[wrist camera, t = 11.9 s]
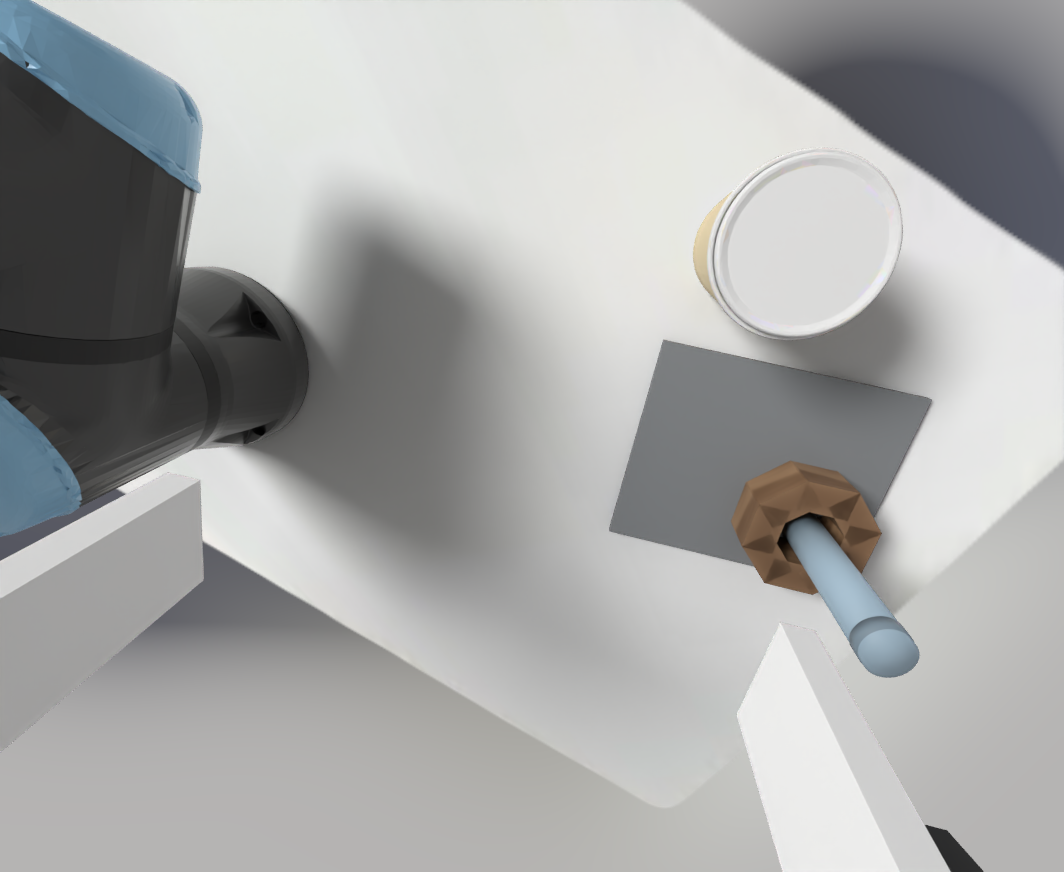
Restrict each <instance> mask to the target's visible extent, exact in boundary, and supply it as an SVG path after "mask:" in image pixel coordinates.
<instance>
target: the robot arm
mask: <svg viewBox="0 0 1064 872" xmlns="http://www.w3.org/2000/svg"><path fill="white" fill-rule="evenodd" d="M201 139H202V119H201V116H200V113H199V110H198V108H197V106H196V104H195V102H194V101H193V99H192V98H191V96H190V95H189V94H188V93H187V91H186V90H185V89H184V88H183V87H181V86H180V85H179V84H178V83H177V82H175V81H174V80H172V79H171V78H169V77H168V76H166V75H164V74H163V73H161V72H159V71H157V70H156V69H154V68H152V67H150V66H148V65H147V64H145V63H143V62H141V61H140V60H138V59H136V58H134V57H133V56H131V55H129V54H127V53H125V52H124V51H122V50H120V49H118V48H116V47H115V46H113V45H111V44H109V43H107V42H106V41H104V40H102V39H100V38H98V37H97V36H95V35H93V34H91V33H89V32H88V31H86V30H84V29H82V28H80V27H79V26H77V25H75V24H73V23H71V22H70V21H68V20H66V19H64V18H62V17H61V16H59V15H57V14H55V13H53V12H51V11H50V10H48V9H46V8H44V7H42V6H40V5H39V4H37V3H35V2H33V1H31V0H0V537H1V536H5V535H10V534H14V533H17V532H19V531H22V530H24V529H27V528H29V527H31V526H33V525H36V524H38V523H41V522H43V521H46V520H48V519H50V518H53V517H58V516H62V515H68V514H70V513H72V512H73V511H75V510H77V509H78V508H79V507H81V506H83V505H85V504H87V503H89V502H91V501H93V500H95V499H97V498H98V497H100V496H102V495H104V494H106V493H108V492H110V491H112V490H114V489H116V488H118V487H120V486H122V485H124V484H126V483H128V482H130V481H132V480H134V479H136V478H138V477H140V476H142V475H144V474H146V473H148V472H150V471H152V470H154V469H156V468H158V467H160V466H162V465H164V464H166V463H168V462H169V461H171V460H173V459H175V458H177V457H179V456H181V455H183V454H185V453H187V452H189V451H191V450H194V449H206V448H219V447H233V446H242V445H247V444H250V443H254V442H257V441H259V440H261V439H263V438H265V437H267V436H269V435H271V434H273V433H275V432H276V431H278V430H280V429H281V428H283V427H284V426H285V425H286V424H288V423H289V422H290V421H291V420H292V419H293V417H294V416H295V415H296V413H297V412H298V410H299V408H300V407H301V405H302V402H303V400H304V397H305V394H306V390H307V384H308V362H307V356H306V351H305V347H304V344H303V341H302V338H301V336H300V333H299V331H298V329H297V327H296V325H295V323H294V321H293V320H292V318H291V317H290V315H289V314H288V312H287V311H286V309H285V308H284V307H283V306H282V304H281V303H280V302H279V301H278V300H277V299H276V298H275V297H274V296H273V295H272V294H271V293H270V292H269V291H268V290H266V289H265V288H264V287H263V286H261V285H260V284H258V283H257V282H255V281H254V280H252V279H250V278H248V277H246V276H245V275H242V274H240V273H238V272H235V271H232V270H228V269H224V268H218V267H192V268H184V264H185V258H186V252H187V246H188V241H189V235H190V229H191V223H192V217H193V211H194V206H195V200H196V194H197V193H200V191H201V185H200V183H199V181H198V168H199V159H200V149H201ZM202 549H203V548H202V518H201V488H200V480H198V479H194V478H190V477H186V476H181V475H177V474H173V473H169V472H167V473H166V474H164V475H162V476H160V477H158V478H156V479H154V480H152V481H150V482H149V483H147V484H145V485H143V486H141V487H139V488H137V489H135V490H133V491H132V492H130V493H128V494H126V495H124V496H122V497H120V498H118V499H117V500H115V501H113V502H111V503H109V504H107V505H105V506H103V507H102V508H100V509H98V510H96V511H94V512H92V513H90V514H88V515H86V516H85V517H83V518H81V519H79V520H77V521H75V522H73V523H71V524H69V525H68V526H66V527H64V528H62V529H60V530H58V531H56V532H54V533H52V534H50V535H49V536H47V537H45V538H43V539H41V540H39V541H37V542H35V543H34V544H32V545H30V546H28V547H26V548H24V549H22V550H20V551H18V552H17V553H15V554H13V555H11V556H9V557H7V558H5V559H3V560H1V561H0V752H1V751H3V750H4V749H5V748H6V747H8V745H10V744H11V743H12V742H13V741H14V740H16V739H17V738H18V737H19V736H20V735H22V734H23V733H24V732H25V731H26V730H27V729H29V728H30V727H31V726H32V725H33V724H35V723H36V722H37V721H38V720H39V719H40V718H42V717H43V716H44V715H45V714H46V713H48V712H49V711H50V710H51V709H52V708H53V707H54V706H56V705H57V704H58V703H59V702H60V701H61V700H63V699H64V698H65V697H66V696H67V695H69V694H70V693H71V692H72V691H73V690H74V689H76V688H77V687H78V686H79V685H80V684H82V683H83V682H84V681H85V680H86V679H88V678H89V677H90V676H91V675H92V674H93V673H95V672H96V671H97V670H98V669H99V668H100V667H102V666H103V665H104V664H105V663H106V662H107V661H109V660H110V659H111V658H112V657H113V656H115V655H116V654H117V653H118V652H119V651H120V650H122V649H123V648H124V647H125V646H126V645H127V644H129V643H130V642H131V641H132V640H133V639H135V638H136V637H137V636H138V635H139V634H140V633H142V632H143V631H144V630H145V629H146V628H148V627H149V626H150V625H151V624H152V623H153V622H154V621H155V620H157V619H158V618H159V617H160V616H162V615H163V614H164V613H165V612H166V611H167V610H169V609H170V608H171V607H172V606H173V605H174V604H176V603H177V602H178V601H179V600H180V599H182V598H183V597H184V596H185V595H186V594H188V593H189V592H190V591H191V590H192V589H193V588H195V587H196V586H197V585H198V584H199V583H200V582H202V581H203V580H204V578H203V550H202ZM737 718H738V721H739V725H740V728H741V732H742V735H743V739H744V742H745V745H746V749H747V752H748V756H749V759H750V763H751V765H752V769H753V773H754V776H755V780H756V783H757V787H758V790H759V793H760V797H761V800H762V804H763V807H764V810H765V814H766V817H767V820H768V824H769V828H770V831H771V834H772V838H773V841H774V845H775V848H776V851H777V855H778V858H779V861H780V865H781V869H782V872H983V870H982V869H981V868H980V867H979V866H978V865H977V864H976V862H975V861H974V860H973V859H972V858H971V857H970V856H969V855H968V853H967V852H966V851H965V850H964V849H963V848H962V847H961V846H960V844H958V842H957V841H956V840H955V839H954V838H953V837H952V835H951V834H950V833H949V832H948V831H947V830H943V829H939V828H935V827H931V826H928V825H924V823H923V821H922V820H921V818H920V816H919V815H918V813H917V811H916V809H915V807H914V805H913V803H912V802H911V800H910V798H909V796H908V795H907V793H906V791H905V789H904V787H903V786H902V784H901V782H900V780H899V779H898V777H897V775H896V773H895V771H894V770H893V768H892V766H891V765H890V762H889V761H888V759H887V757H886V755H885V754H884V752H883V750H882V749H881V746H880V745H879V743H878V741H877V740H876V737H875V736H874V734H873V732H872V730H871V729H870V727H869V725H868V723H867V721H866V720H865V718H864V716H863V714H862V712H861V711H860V709H859V707H858V705H857V704H856V702H855V700H854V699H853V696H852V695H851V693H850V691H849V689H848V687H847V686H846V684H845V682H844V680H843V679H842V677H841V675H840V673H839V671H838V670H837V668H836V666H835V664H834V662H833V661H832V659H831V657H830V655H829V654H828V652H827V650H826V648H825V646H824V645H823V643H822V641H821V639H820V637H819V636H818V634H817V632H816V631H814V630H810V629H806V628H802V627H798V626H794V625H790V624H786V623H781V622H780V624H779V626H778V628H777V630H776V632H775V634H774V637H773V639H772V641H771V643H770V645H769V647H768V649H767V651H766V654H765V656H764V658H763V660H762V662H761V664H760V666H759V668H758V670H757V673H756V675H755V677H754V679H753V681H752V683H751V685H750V687H749V689H748V692H747V694H746V696H745V698H744V700H743V702H742V704H741V706H740V709H739V711H738V713H737Z"/></svg>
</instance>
